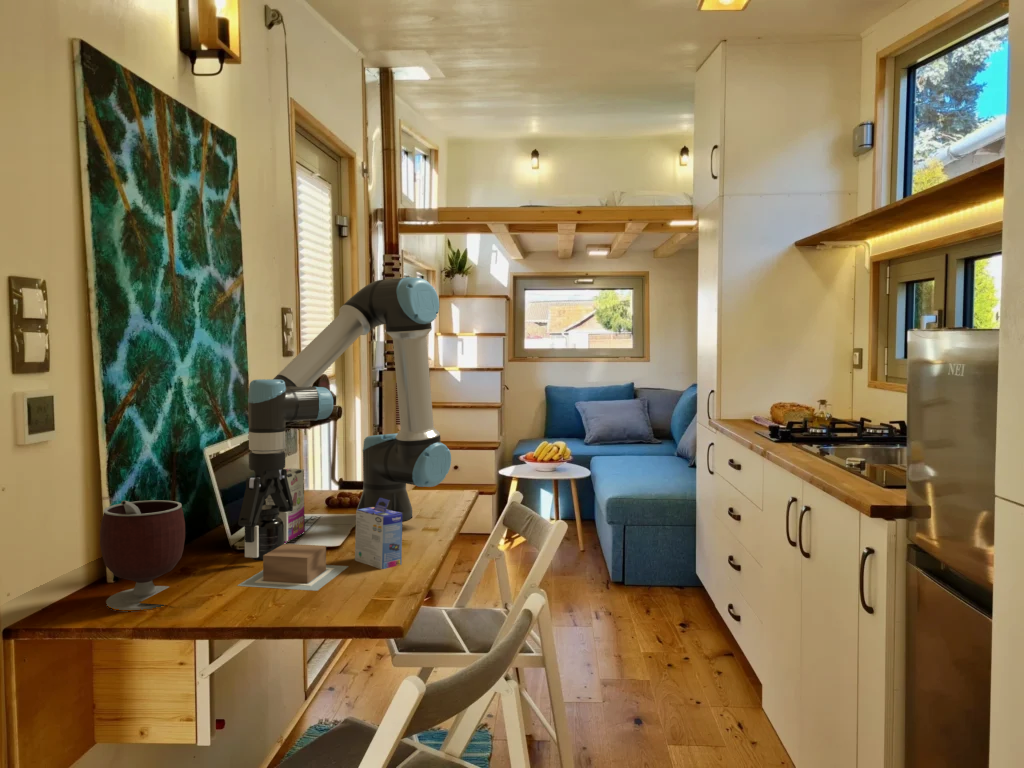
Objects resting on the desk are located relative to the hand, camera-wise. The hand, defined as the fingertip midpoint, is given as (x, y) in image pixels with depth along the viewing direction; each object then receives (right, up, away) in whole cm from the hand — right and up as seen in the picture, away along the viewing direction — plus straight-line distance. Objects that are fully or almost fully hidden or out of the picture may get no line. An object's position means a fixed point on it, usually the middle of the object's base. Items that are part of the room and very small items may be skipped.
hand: (267, 548), depth 162 cm
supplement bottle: (0, -3, 0) cm, 3 cm away
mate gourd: (-14, -4, -26) cm, 30 cm away
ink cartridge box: (+25, -4, -4) cm, 25 cm away
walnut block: (+10, -2, -14) cm, 17 cm away
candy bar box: (-2, -2, +20) cm, 20 cm away
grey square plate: (+10, -4, -14) cm, 17 cm away
